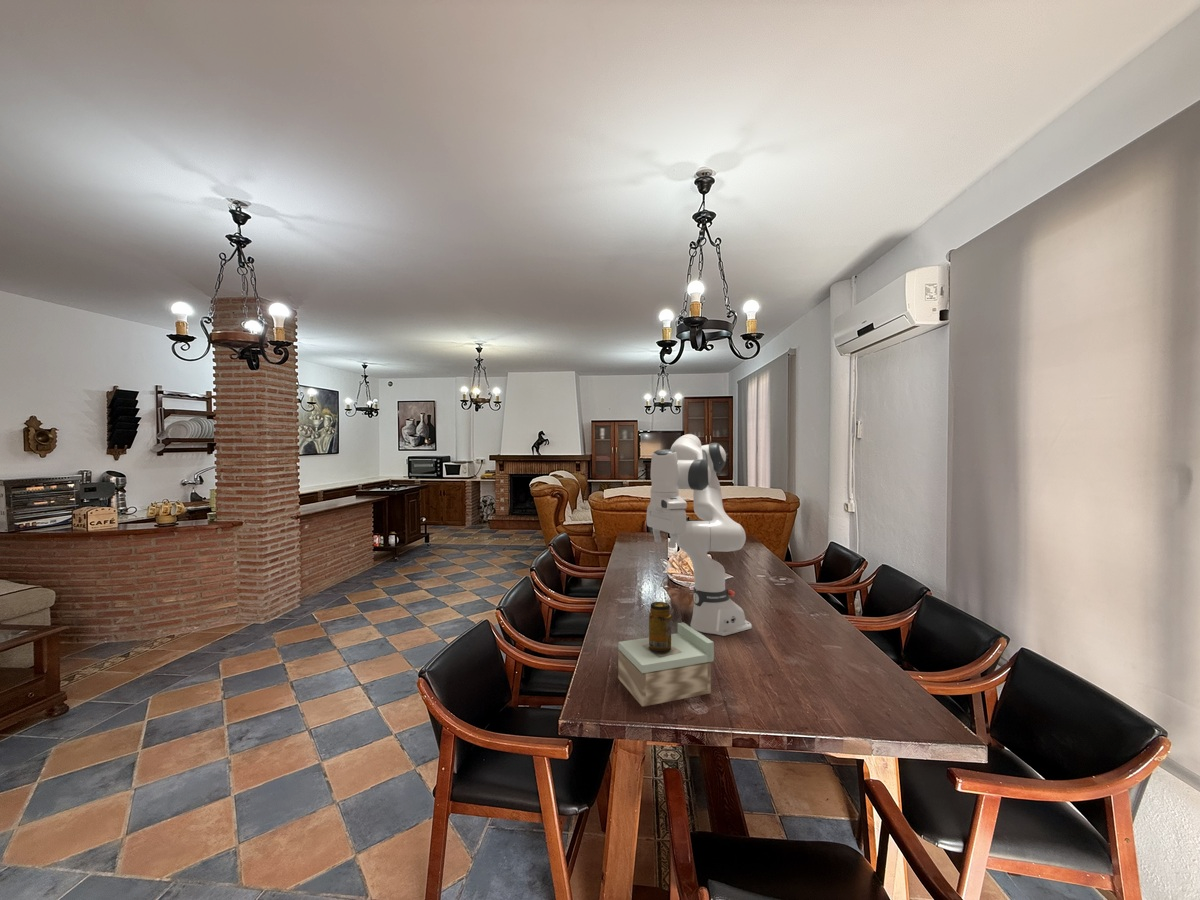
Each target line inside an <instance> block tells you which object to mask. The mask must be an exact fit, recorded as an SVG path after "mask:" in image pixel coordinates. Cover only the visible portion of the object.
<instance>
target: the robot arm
mask: <svg viewBox="0 0 1200 900" xmlns="http://www.w3.org/2000/svg"><path fill="white" fill-rule="evenodd" d="M650 461H651V462H650V481H651V488H650V501H649V504H648V505H647V508H646V518H645V519H646V520H645V522H646V526H647V527H649V528H652V533H653V538H654V543H657V544H659V543H660V544H661V542H662V536H661V532H663V533H668V534H669V537H670V538H669V541H668V543H667V544H668V545H667V546H668V548H670V549H675V548H676V547H678V548H680V550H682V551H683V552H684V553H685V554H686V555H687V556H688V558H689V559H690V562H691V565H692V568H693V576H694V577H693V578H694V581H693V582H694V587H693V590H692V592H693V593H692V595H693V596H692V597H693V598H692V599H693V608H692V609H693V610H692V617H691V621H690V623H689V624H690V625H689V626H690V627H691V628H693V629H694V630H696V631H697V632H699V633H704V634H705V633H706V634H712V635H719V636H721V637H722V636H723V637H725V636H729V635H732V634H737V633H739V632H744V631H746V630H751V629H753V625H752V623H751V622H750V621H748V620H746V615H745V612H744V609H743V608H742V607H741V606H740V605H738V604H737V603H735V601H733V600H732V599H731V598H730V597H735V595H736V592H735V591H734V590H733V589H729V590H728V589H727V588H726V570H725V568H724V566H723V565H722V564H721V563H720V562H718V561H717V560H715V559H713V558H711V557H709V555H708V552H723V553H724V552H726V553H727V552H735V551H739V550H741V549H742V548H743V547H744V545H745V544H746V540H747V535H746V534H747V533H746V531H745V529H744V527H743V525H741V524H740V523H738V522H737V521H735V520H733V518H731V517H730V516H729V515H728V514H727V513H726V511H725V509H724V504H723V496H722V489H721V484H720V480H719V479H718V476H717V474H721V473H722V469H723V468H724V467H725V465H726V462H727V453H726V451H725V449H724V448H723V446H722V445H721V444H720V443H718V442H711V443H709V444H704V445H702V442H701V440H700V438H699V437H698V436H697V435H695V434H692V433H687V434H684V435H683V434H682V436H679V437H678V438H677V439H676V440H675V441H674V442H673V443H672V445H671V447H670V449H669V448H668V449H667V448H666V449H665V448H663V449H658V450H655V451H653V452H652V456H651V460H650ZM680 490H693V494H692V495H693V496H692V497H693V498H692V499H693V511H694V513H695V515H696V516H697V518H698V519H699V520H688V521H687V511H686V510H685V509H687V508H688V503H687V501H686V500H685V499H683V498H682V496H681V495H679V494H680V492H679V491H680Z"/></svg>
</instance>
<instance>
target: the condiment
mask: <svg viewBox="0 0 1200 900" xmlns="http://www.w3.org/2000/svg"><path fill="white" fill-rule="evenodd" d="M670 607H671V606H670V604H669V603H668V602H665V601H654V602H652V603H650V609H649V610H650V612H649V614H648V638H649V644H646V645H642V646H643V647H645V648H646V649H648V650H649V651H651V652H653V653H654V654H656V655H658V656H666V655H671V654H675V653H679V652H682V651H680V650H678V649H676V648H675V647H673V646H671V634H672V615H671V613H670V612H671V610H670Z"/></svg>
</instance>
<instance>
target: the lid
mask: <svg viewBox="0 0 1200 900" xmlns="http://www.w3.org/2000/svg"><path fill="white" fill-rule="evenodd" d="M617 643H618V646H617V647H618V650H620V651H621V652H622V653H623V654H624V655H625V656H626V657H627V658H628V659H629V660H630V661H631V662H632V663H633V664H634V665H635V666H636V668H637V669H638V670H639V671H640V672H641V673H648V672H654V671H659V670H665V669H671V668H677V667H683V666H689V665H694V664H700V663H706V662H710V663H712V662H715V642H714V641H713V640H711V639H709V638H708V637H707V636H705V635H704V634H703V633H702V632H700V631H697V630H695V629H693V628H692V627H691V626H690V625H689V624H687V623H685V622H677V633H671V646H673V647H675V648H676V649H678V650H680V651H682V652H679V653H675V654H671V655H666V656H658V655H656V654H654V653H653V652H651V651H649V650H648V649H646V648H645V647H643V646H642V645H646V644H649V637H642V638H636V639H635V638H634V639H629V640H621V641H618V642H617Z"/></svg>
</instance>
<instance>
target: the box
mask: <svg viewBox="0 0 1200 900" xmlns="http://www.w3.org/2000/svg"><path fill="white" fill-rule="evenodd" d="M617 651H618V653H617V655H618V657H617V658H618V660H617V661H618V667H617V670H618V673H617V678H618V680H619V681H620V682H621V683H622V685H623V686H624V687H625V688H626V689H627V691H628V692H629V693H630V695H632V697H633V698H634V699H635V700H636V701H637V702H638V704H640V706H641V707H648V706H653V705H654V706H655V705H658V704H663V703H664V704H665V703H669V702H673V701H678V700H683V699H688V698H689V699H690V698H693V697H698V696H703V695H704V696H705V695H709V694H711V693H712V664H711V663H712V662H706V663H700V664H694V665H689V666H683V667H677V668H671V669H665V670H659V671H654V672H648V673H641V672H640V671H639V670H638V669H637V668H636V666H635V665H634V664H633V663H632V662H631V661H630V660H629V659H628V658H627V657H626V656H625V655H624V654H623V653H622V652H621V651H620V650H619V649H618V650H617Z"/></svg>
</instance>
